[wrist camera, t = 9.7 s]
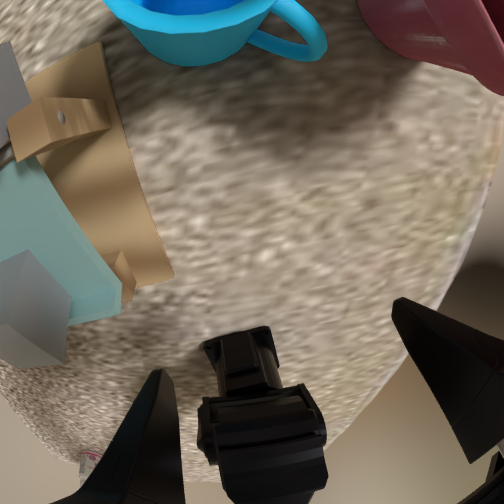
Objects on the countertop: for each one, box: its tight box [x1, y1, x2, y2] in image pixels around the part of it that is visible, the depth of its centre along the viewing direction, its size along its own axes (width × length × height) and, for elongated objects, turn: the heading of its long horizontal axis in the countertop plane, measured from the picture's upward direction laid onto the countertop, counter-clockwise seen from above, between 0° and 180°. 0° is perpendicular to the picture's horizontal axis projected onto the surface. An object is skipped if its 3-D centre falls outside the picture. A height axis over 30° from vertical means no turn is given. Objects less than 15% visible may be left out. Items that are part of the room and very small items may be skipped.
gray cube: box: [0, 249, 72, 369], centre depth 13 cm, size 5×5×5 cm
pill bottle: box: [79, 450, 102, 487], centre depth 33 cm, size 5×5×8 cm
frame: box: [0, 41, 174, 303], centre depth 13 cm, size 18×18×9 cm
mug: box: [103, 0, 328, 67], centre depth 10 cm, size 12×8×8 cm
